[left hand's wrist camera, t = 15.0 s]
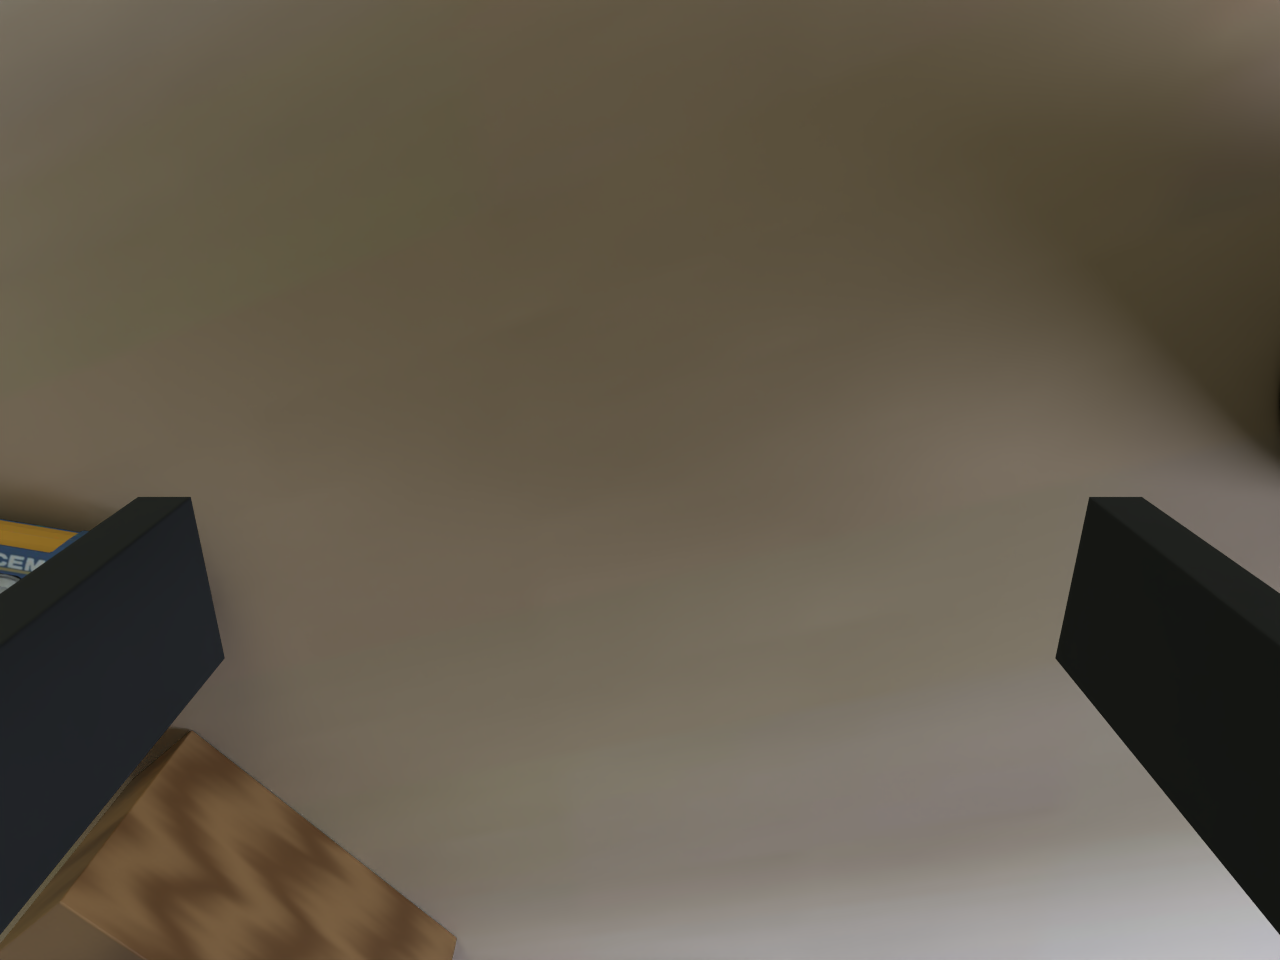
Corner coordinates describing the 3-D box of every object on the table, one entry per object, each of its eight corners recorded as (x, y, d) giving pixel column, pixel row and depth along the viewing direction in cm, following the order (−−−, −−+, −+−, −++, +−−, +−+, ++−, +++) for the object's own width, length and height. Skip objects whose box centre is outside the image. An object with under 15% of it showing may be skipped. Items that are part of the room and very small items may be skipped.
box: (130, 780, 51) (-15, 961, 40) (191, 729, 50) (59, 901, 38) (396, 978, 57) (336, 1184, 46) (457, 937, 56) (411, 1140, 44)
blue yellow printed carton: (220, 762, 50) (221, 533, 45) (182, 814, 46) (178, 569, 41) (-140, 706, 49) (-181, 466, 44) (-210, 753, 45) (-264, 496, 40)
